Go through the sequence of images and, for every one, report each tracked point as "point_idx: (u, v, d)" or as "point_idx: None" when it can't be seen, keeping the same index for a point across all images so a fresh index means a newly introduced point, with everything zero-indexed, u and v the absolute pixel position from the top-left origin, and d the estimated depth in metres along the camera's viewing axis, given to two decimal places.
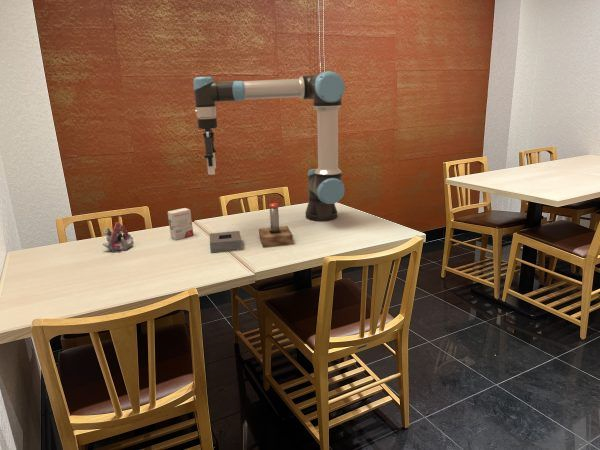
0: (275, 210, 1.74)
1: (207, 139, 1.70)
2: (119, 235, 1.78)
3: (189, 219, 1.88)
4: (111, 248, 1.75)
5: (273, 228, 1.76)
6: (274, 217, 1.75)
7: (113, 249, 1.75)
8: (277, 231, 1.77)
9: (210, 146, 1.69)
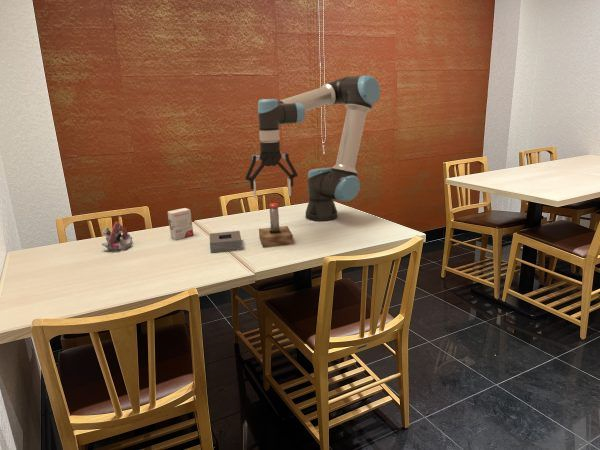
0: (275, 210, 1.74)
1: (251, 162, 1.68)
2: (118, 235, 1.78)
3: (189, 219, 1.88)
4: (110, 248, 1.75)
5: (273, 228, 1.76)
6: (274, 217, 1.75)
7: (112, 249, 1.75)
8: (277, 231, 1.77)
9: (248, 169, 1.68)
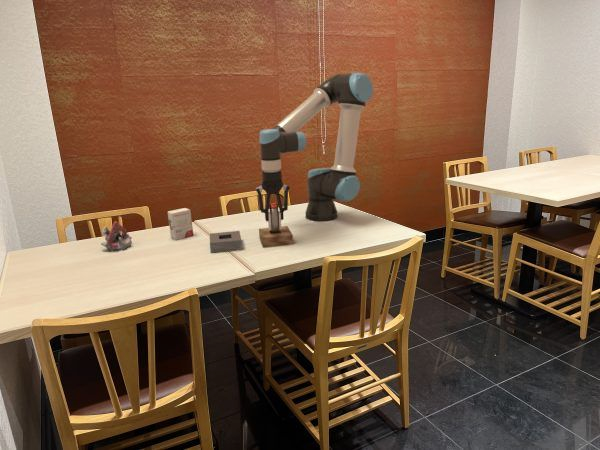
0: (275, 210, 1.74)
1: (258, 195, 1.73)
2: (117, 234, 1.78)
3: (189, 219, 1.88)
4: (109, 247, 1.75)
5: (273, 228, 1.76)
6: (274, 217, 1.75)
7: (111, 248, 1.76)
8: (277, 231, 1.77)
9: (259, 203, 1.73)
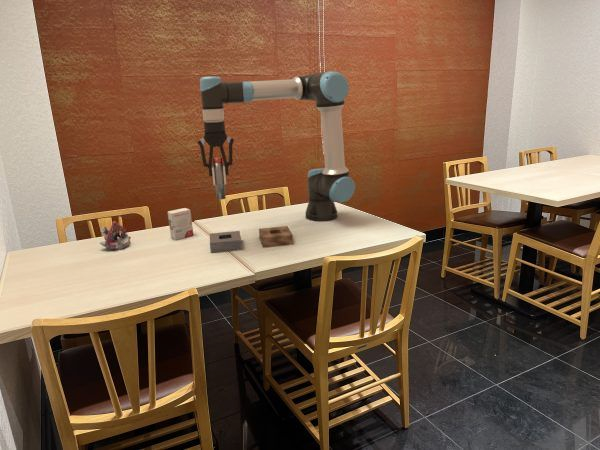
0: (218, 164, 1.64)
1: None
2: (116, 234, 1.79)
3: (189, 219, 1.88)
4: (107, 247, 1.76)
5: (217, 184, 1.67)
6: (217, 172, 1.65)
7: (109, 248, 1.76)
8: (222, 187, 1.67)
9: None
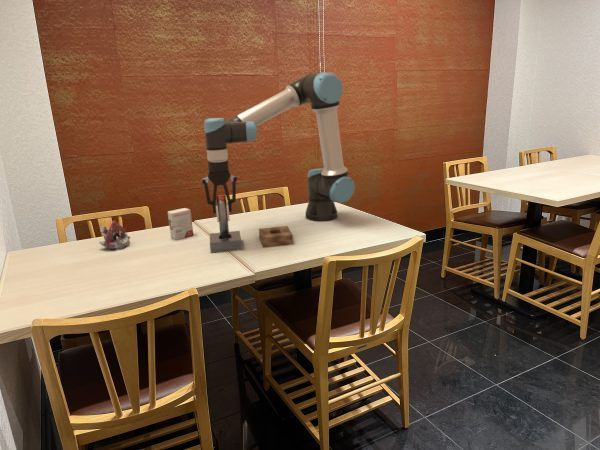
0: (222, 202, 1.69)
1: None
2: (116, 234, 1.79)
3: (189, 219, 1.88)
4: (107, 246, 1.77)
5: (220, 220, 1.71)
6: (221, 209, 1.70)
7: (108, 247, 1.77)
8: (225, 224, 1.72)
9: (206, 194, 1.68)
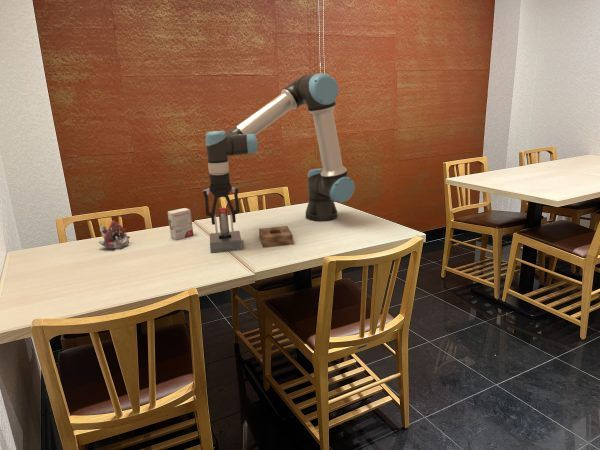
0: (223, 215, 1.70)
1: (205, 197, 1.69)
2: (115, 234, 1.80)
3: (189, 219, 1.88)
4: (106, 246, 1.77)
5: (222, 233, 1.73)
6: (223, 222, 1.71)
7: (108, 247, 1.77)
8: (227, 236, 1.73)
9: (205, 205, 1.69)
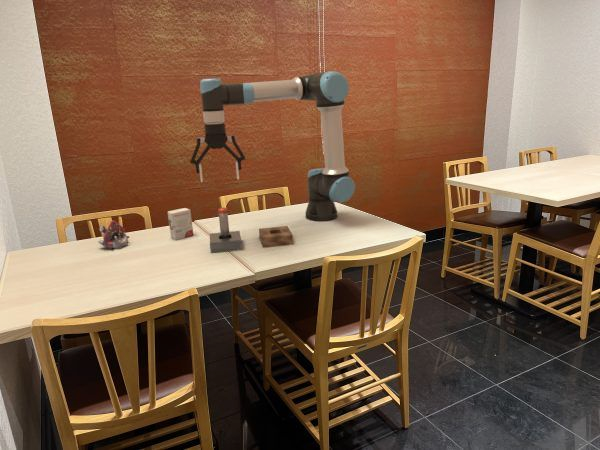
0: (224, 215, 1.70)
1: (196, 145, 1.63)
2: (115, 233, 1.80)
3: (189, 219, 1.88)
4: (105, 246, 1.78)
5: (222, 233, 1.73)
6: (223, 222, 1.71)
7: (107, 247, 1.78)
8: (227, 236, 1.73)
9: None
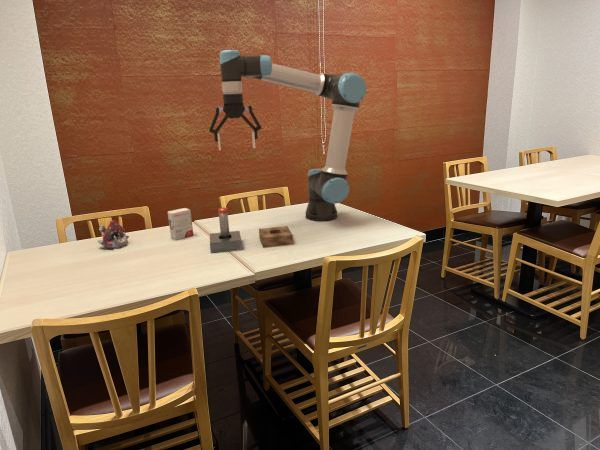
0: (224, 215, 1.70)
1: (215, 114, 1.71)
2: (114, 233, 1.80)
3: (189, 219, 1.88)
4: (104, 245, 1.78)
5: (222, 233, 1.73)
6: (223, 222, 1.71)
7: (106, 246, 1.78)
8: (227, 236, 1.73)
9: None
